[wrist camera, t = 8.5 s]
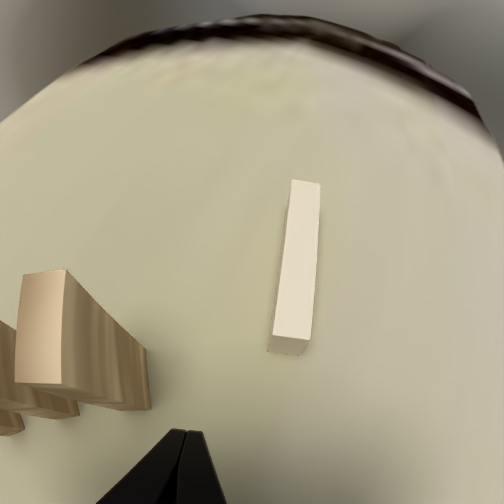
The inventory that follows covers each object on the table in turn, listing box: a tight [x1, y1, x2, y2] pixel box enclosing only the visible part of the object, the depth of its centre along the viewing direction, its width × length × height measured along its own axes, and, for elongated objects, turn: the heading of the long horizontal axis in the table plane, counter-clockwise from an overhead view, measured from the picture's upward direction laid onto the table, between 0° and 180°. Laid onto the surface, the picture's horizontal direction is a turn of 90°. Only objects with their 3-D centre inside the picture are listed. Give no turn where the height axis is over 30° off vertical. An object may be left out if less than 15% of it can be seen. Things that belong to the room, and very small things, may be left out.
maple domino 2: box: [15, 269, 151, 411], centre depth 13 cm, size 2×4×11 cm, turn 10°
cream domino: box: [267, 179, 320, 356], centre depth 21 cm, size 2×4×11 cm
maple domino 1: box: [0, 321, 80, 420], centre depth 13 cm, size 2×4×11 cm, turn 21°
